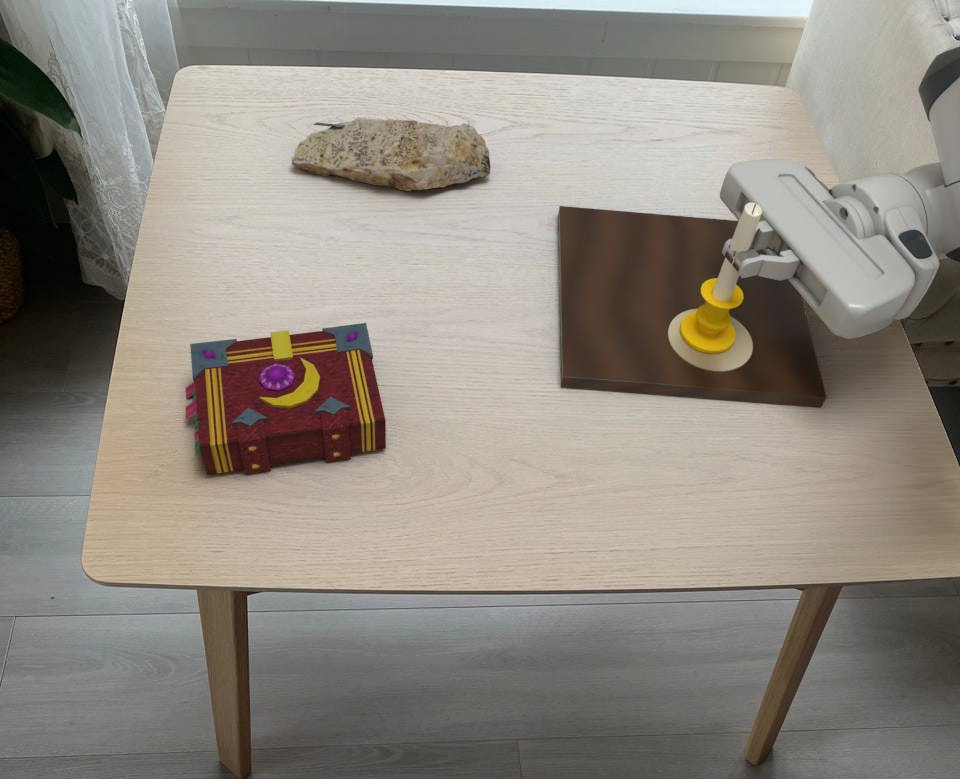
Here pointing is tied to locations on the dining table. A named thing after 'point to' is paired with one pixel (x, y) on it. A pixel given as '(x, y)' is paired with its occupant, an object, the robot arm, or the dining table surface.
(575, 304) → the board
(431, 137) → the stone
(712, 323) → the candle
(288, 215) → the dining table surface
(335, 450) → the decorative book
